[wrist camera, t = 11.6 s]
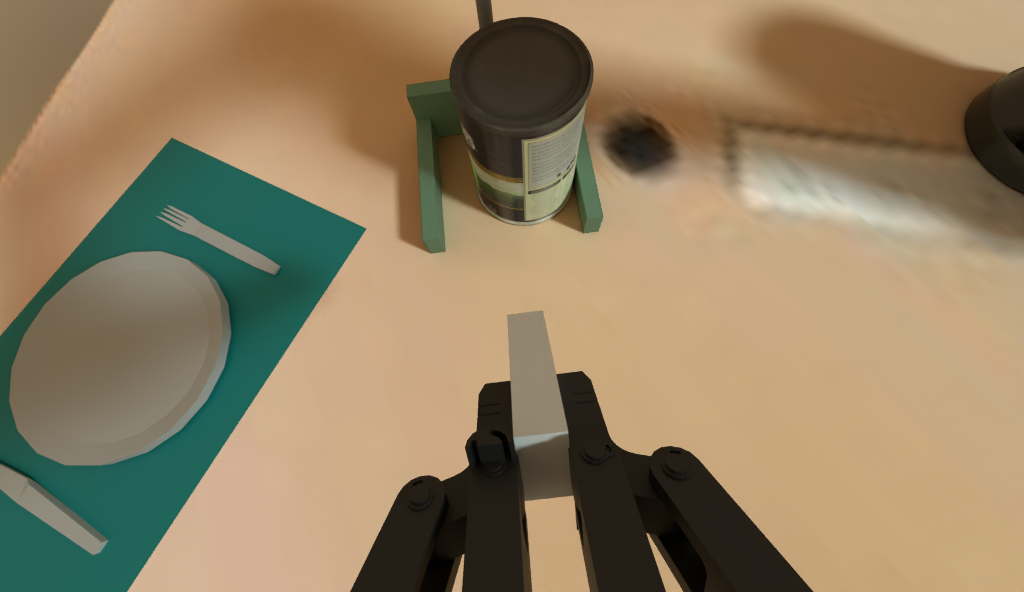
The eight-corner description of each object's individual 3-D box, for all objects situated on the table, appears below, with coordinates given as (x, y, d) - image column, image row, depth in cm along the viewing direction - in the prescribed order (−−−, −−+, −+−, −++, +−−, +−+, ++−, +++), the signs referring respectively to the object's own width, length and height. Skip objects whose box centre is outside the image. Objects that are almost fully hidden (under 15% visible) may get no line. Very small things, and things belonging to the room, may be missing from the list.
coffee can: (475, 228, 40) (445, 132, 26) (477, 144, 43) (452, 19, 29) (576, 225, 39) (598, 126, 26) (571, 140, 42) (589, 12, 29)
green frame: (598, 231, 39) (688, -34, 16) (430, 253, 39) (284, 24, 16) (572, 107, 44) (614, -235, 21) (423, 128, 44) (301, -187, 21)
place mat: (176, 131, 47) (159, 117, 45) (386, 227, 41) (377, 217, 39) (-141, 497, 36) (-185, 503, 34) (84, 694, 31) (50, 715, 28)
